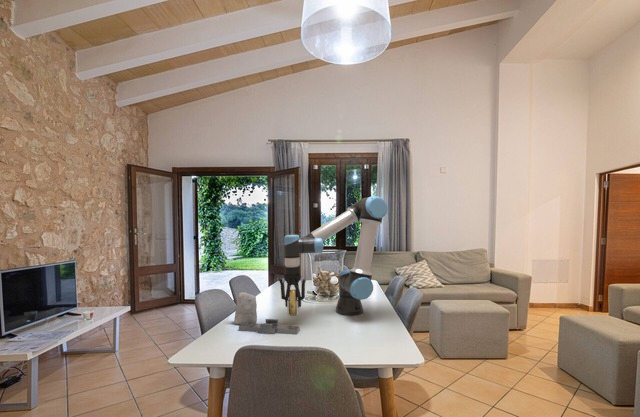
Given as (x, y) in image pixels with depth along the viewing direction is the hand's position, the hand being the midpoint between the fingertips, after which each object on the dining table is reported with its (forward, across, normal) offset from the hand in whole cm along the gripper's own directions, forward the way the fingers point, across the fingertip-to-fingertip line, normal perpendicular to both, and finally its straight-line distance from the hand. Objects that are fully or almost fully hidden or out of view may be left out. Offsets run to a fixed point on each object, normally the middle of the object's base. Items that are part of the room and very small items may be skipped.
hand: (293, 313), depth 158 cm
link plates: (+5, +9, +11) cm, 15 cm away
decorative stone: (+5, +24, +3) cm, 24 cm away
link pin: (+1, 0, 0) cm, 1 cm away
